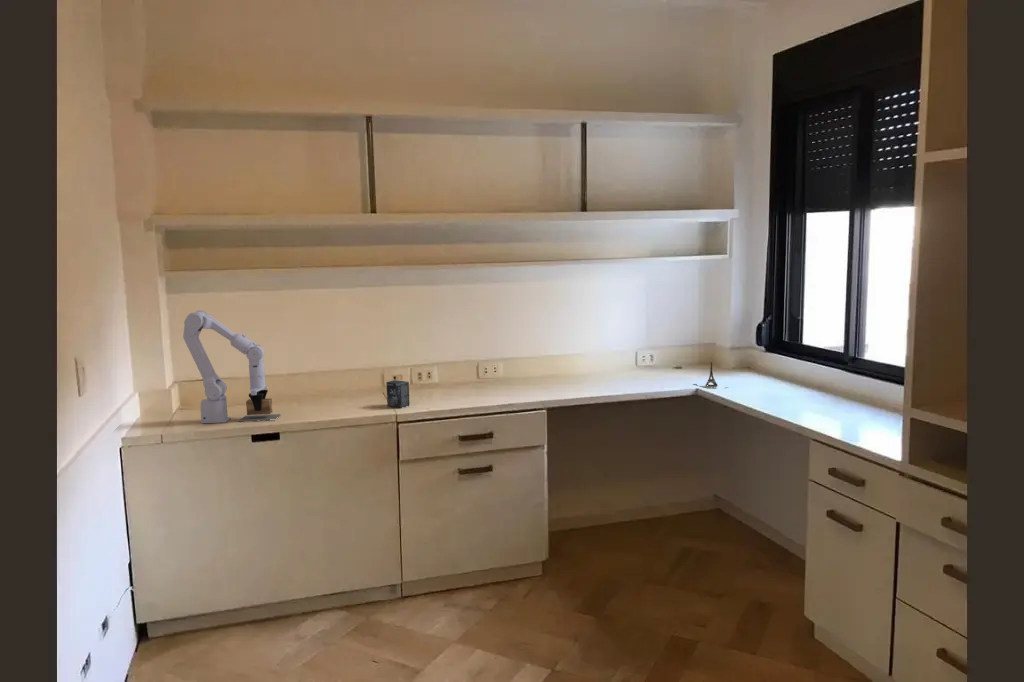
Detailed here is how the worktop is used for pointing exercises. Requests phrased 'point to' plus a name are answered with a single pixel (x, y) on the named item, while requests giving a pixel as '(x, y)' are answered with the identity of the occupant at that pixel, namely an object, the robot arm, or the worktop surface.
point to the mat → (259, 417)
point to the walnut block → (265, 407)
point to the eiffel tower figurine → (710, 380)
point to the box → (397, 393)
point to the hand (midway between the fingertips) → (259, 409)
